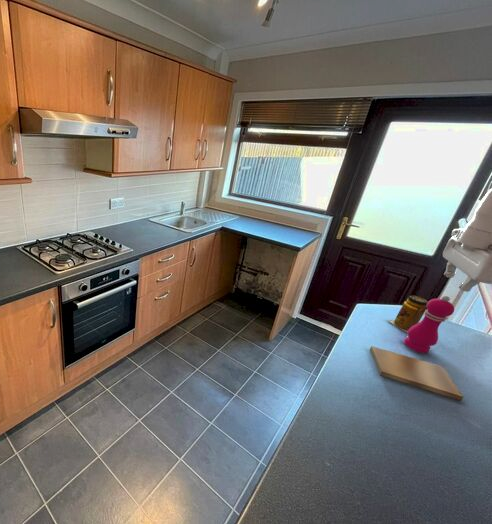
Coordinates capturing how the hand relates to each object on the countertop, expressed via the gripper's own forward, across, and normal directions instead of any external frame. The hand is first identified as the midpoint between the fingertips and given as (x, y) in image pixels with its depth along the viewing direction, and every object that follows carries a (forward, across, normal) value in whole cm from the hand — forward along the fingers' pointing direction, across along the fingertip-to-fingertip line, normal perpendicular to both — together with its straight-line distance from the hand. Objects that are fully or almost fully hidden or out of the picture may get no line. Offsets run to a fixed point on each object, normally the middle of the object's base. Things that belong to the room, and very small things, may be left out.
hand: (455, 283), depth 83 cm
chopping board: (+25, -16, +6) cm, 30 cm away
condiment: (+25, +13, -1) cm, 28 cm away
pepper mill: (+25, 0, 0) cm, 25 cm away
